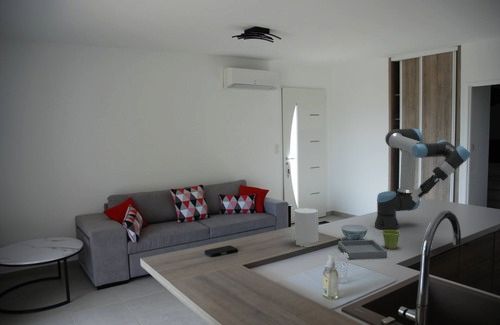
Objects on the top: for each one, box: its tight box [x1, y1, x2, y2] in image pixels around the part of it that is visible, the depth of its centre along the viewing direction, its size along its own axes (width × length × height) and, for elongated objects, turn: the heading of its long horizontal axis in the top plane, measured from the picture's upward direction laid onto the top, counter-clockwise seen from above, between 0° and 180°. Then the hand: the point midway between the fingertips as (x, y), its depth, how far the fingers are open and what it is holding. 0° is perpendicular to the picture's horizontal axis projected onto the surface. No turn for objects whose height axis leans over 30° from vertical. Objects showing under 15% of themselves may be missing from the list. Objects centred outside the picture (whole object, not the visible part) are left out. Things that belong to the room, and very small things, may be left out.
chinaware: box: [341, 224, 369, 241], centre depth 229 cm, size 15×15×8 cm
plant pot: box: [381, 230, 401, 250], centre depth 214 cm, size 9×9×9 cm
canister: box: [294, 207, 319, 243], centre depth 225 cm, size 14×14×20 cm
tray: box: [337, 239, 388, 260], centre depth 208 cm, size 20×20×4 cm
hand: (413, 198), depth 210 cm, fingers open, 13 cm apart
